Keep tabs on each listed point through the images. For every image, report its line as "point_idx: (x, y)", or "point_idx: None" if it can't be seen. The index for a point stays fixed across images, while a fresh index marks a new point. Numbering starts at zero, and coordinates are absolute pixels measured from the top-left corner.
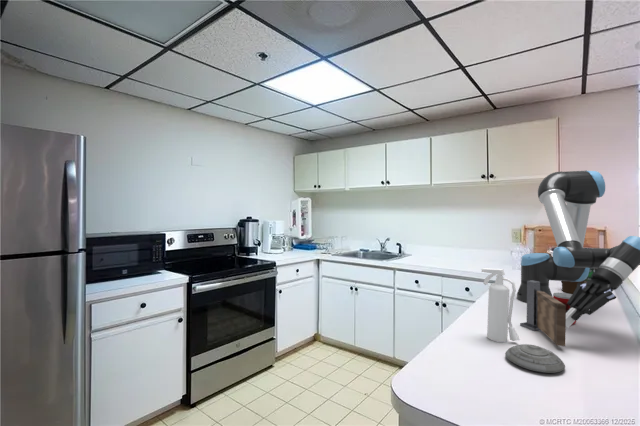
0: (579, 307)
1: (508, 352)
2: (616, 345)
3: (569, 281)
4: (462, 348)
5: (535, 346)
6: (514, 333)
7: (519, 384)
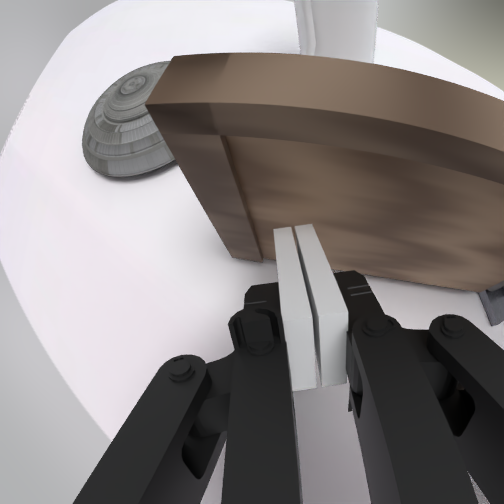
0: (254, 352)
1: None
2: None
3: None
4: (248, 22)
5: (129, 86)
6: None
7: (88, 82)
